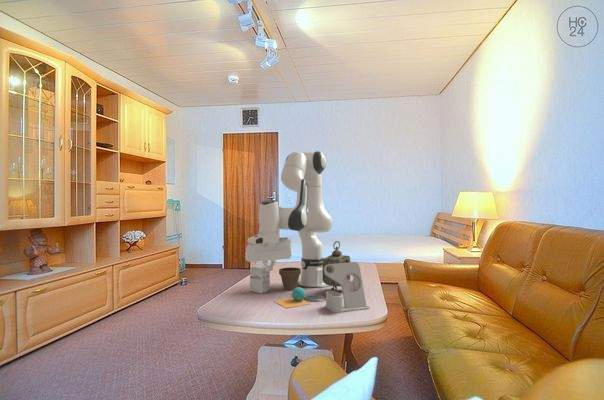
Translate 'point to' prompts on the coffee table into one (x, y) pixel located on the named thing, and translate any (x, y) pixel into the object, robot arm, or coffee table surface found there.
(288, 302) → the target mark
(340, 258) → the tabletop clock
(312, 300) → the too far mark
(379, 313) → the coffee table surface
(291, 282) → the flower pot
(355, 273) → the grey coffee machine
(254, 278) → the supplement box
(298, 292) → the ball
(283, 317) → the coffee table surface
